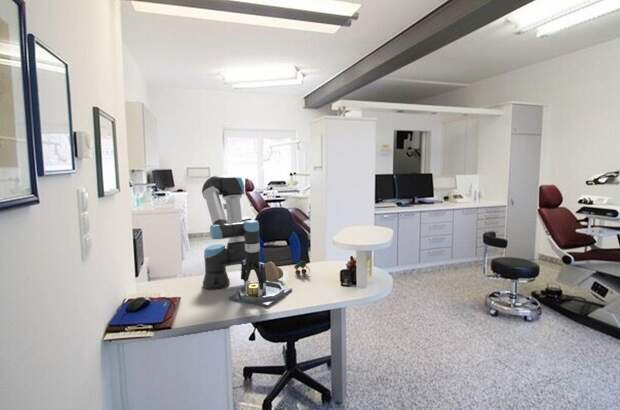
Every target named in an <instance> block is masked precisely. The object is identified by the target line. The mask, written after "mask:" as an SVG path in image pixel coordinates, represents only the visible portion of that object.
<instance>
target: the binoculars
mask: <svg viewBox="0 0 620 410" xmlns="http://www.w3.org/2000/svg"><path fill="white" fill-rule="evenodd" d="M307 264H308V261H307V260H305V261H303V260H300V261H299V262H297V263H296V264H295V265H294V266H293V268H294V269H295V272H294V273H295V275H297V276H298V277H303V278H305V277H307V276H308V275H309V274H310V272H311V270H310V268H309V267H308V266H307ZM305 267H306V268H305ZM299 268H301V270H300V269H299ZM307 269H308V274H307ZM300 274H303V275H300ZM305 274H307V275H305Z"/></svg>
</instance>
